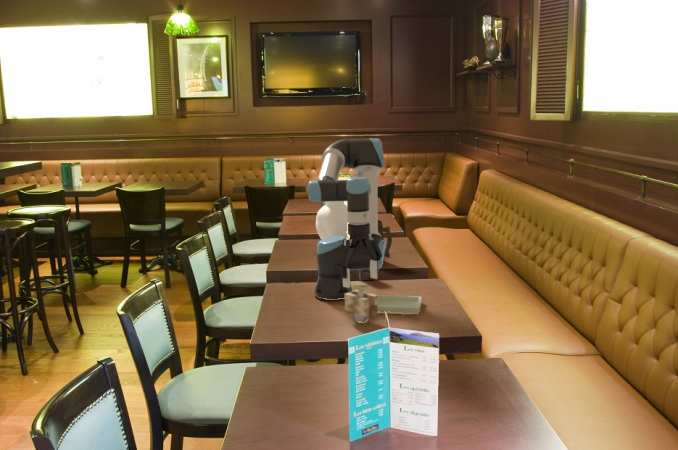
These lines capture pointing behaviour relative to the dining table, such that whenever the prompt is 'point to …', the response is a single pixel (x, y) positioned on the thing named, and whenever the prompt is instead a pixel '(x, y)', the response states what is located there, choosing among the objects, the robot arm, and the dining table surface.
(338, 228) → the vase
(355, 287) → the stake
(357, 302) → the slotted wooden block
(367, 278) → the box
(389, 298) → the tray
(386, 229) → the beer stein
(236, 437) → the dining table surface
